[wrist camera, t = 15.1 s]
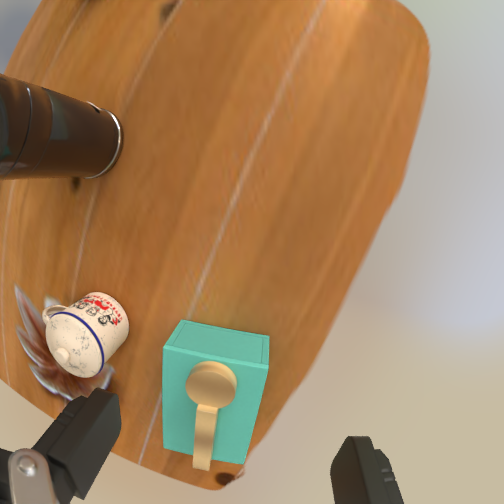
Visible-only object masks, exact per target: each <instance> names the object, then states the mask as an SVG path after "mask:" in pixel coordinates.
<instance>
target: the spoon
mask: <svg viewBox="0 0 504 504" xmlns="http://www.w3.org/2000/svg"><path fill="white" fill-rule="evenodd" d="M185 388H186V392H187V394H188V396H189V397H190V398H191V399H192V400H193V401H194V402H195V403H197V404H198V407H197V410H196V423H195V437H194V452H193V468H197V469H201V470H206V471H209V468H210V464H211V459H212V454H213V447H214V440H215V433H216V426H217V418H218V411H219V408H223V407H226V406H227V405H229V404H230V403H231V402H232V401H233V400H234V398H235V393H236V388H237V379H236V376H235V374H234V373H233V371H232V370H231V369H230V368H229V367H227V366H226V365H224V364H222V363H219V362H215V361H204V362H200V363H198V364H196V365H195V366H194V367H193V368H192V369H191V371H190V373H189V375H188V378H187V380H186V384H185Z"/></svg>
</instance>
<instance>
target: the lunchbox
mask: <svg viewBox="0 0 504 504" xmlns="http://www.w3.org/2000/svg"><path fill="white" fill-rule="evenodd" d="M165 345H169V346H174V347H178V348H182V349H187V350H191V351H196V352H200V353H205V354H210V355H215V356H220V357H225V358H230V359H236V360H242V361H247V362H253V363H259V364H266V365H269V336H267V335H261V334H255V333H249V332H243V331H237V330H232V329H227V328H221V327H216V326H211V325H206V324H201V323H196V322H192V321H187V320H182V319H181V321H180V322H179V324H178V325H177V327H176V328H175V330H174V331H173V333H172V335H171V336H170V338H169V339H168V341H167V342H166V344H165Z"/></svg>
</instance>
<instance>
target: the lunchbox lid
mask: <svg viewBox="0 0 504 504" xmlns="http://www.w3.org/2000/svg"><path fill="white" fill-rule="evenodd" d="M204 361H215V362H219V363H222V364H224V365H226V366H227V367H229V368H230V369H231V370H232V371H233V373H234V374H235V376H236V379H237V388H236V393H235V398H234V400H233V401H232V402H231V403H230V404H229V405H227V406H226V407H223V408H219V411H218V418H217V426H216V433H215V440H214V447H213V454H212V459H214V460H219V461H225V462H230V463H237V464H244V461H245V458H246V454H247V451H248V447H249V443H250V440H251V436H252V432H253V428H254V425H255V421H256V417H257V413H258V409H259V405H260V401H261V397H262V393H263V389H264V385H265V381H266V377H267V373H268V369H269V365H266V364H259V363H253V362H247V361H242V360H236V359H230V358H225V357H220V356H215V355H210V354H205V353H200V352H196V351H191V350H187V349H182V348H178V347H174V346H169V345H165V346H164V347H163V369H162V415H163V447H164V448H166V449H170V450H174V451H178V452H182V453H186V454H190V455H193V452H194V437H195V423H196V410H197V407H198V404H197V403H195V402H194V401H193V400H192V399H191V398H190V397H189V396H188V394H187V392H186V388H185V384H186V380H187V378H188V375H189V373H190V371H191V369H192V368H193V367H194V366H195V365H196V364H198V363H200V362H204Z"/></svg>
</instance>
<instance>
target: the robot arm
mask: <svg viewBox="0 0 504 504" xmlns="http://www.w3.org/2000/svg"><path fill="white" fill-rule="evenodd" d="M87 102H88V101H87ZM88 103H90V102H88ZM88 103H85V102H82V101H80V100H77V99H74V98H71V97H69V96H66V95H63V94H60V93H57V92H55V91H52V90H49V89H46V88H43V87H40V86H36V85H33V84H30V83H27V82H24V81H21V80H18V79H15V78H12V77H8V76H6V75H3V74H0V180H15V179H36V178H97V177H100V176H102V175H104V174H105V173H107V172H108V171H109V170H110V169H111V168H112V167H113V166H114V164H115V163H116V161H117V160H118V158H119V155H120V153H121V150H122V146H123V129H122V126H121V123H120V121H119V119H118V118H117V117H116V116H115V115H114V114H113V113H111V112H110V111H107V110H105V109H102V108H98V107H96V106H95V105H93V104H92V103H90V104H91V105H90V104H88ZM120 430H121V416H120V407H119V398H118V395H117V394H115V393H112V392H109V391H106V390H104V389H101V388H96V389H94V391H93V392H92V393H91V394H90V396H89V397H88V398H86V397H84V396H80V397H78V398H76V399H74V400H72V401H70V402H69V403H68V405H67V406H66V407H65V408H64V409H63V411H62V413H60V414H59V416H58V417H57V419H56V420H54V422H53V423H52V424H51V425H50V427H49V428H48V429H47V430H46V432H45V433H44V434H43V435H42V437H41V438H40V439H39V440H38V442H37V443H36V444H35V445H34V446H33V447H32V448H31V449H27V448H26V449H25V448H24V449H19V450H16V451H15V452H11V451H7V450H4V449H1V448H0V504H70V501H71V500H72V498H73V496H76V497H78V498H80V499H82V500H84V498H85V497H86V495H87V493H88V491H89V489H90V487H91V486H92V484H93V482H94V480H95V478H96V476H97V475H98V473H99V471H100V469H101V467H102V465H103V464H104V462H105V460H106V458H107V456H108V454H109V453H110V451H111V449H112V447H113V446H114V444H115V442H116V440H117V438H118V436H119V434H120ZM330 476H331V482H332V488H333V494H334V501H335V504H404V502H403V499H402V496H401V493H400V490H399V487H398V484H397V482H396V481H395V476H394V473H393V472H392V467H391V465H390V462H389V459H388V458H387V457H386V456H385V454H383V452H382V451H381V450H380V449H376V450H374V447H373V444H372V441H371V439H370V437H368V436H348V437H347V438H346V439H345V441H344V443H343V444H342V446H341V448H340V450H339V451H338V453H337V455H336V456H335V458H334V460H333V462H332V465H331V470H330Z"/></svg>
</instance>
